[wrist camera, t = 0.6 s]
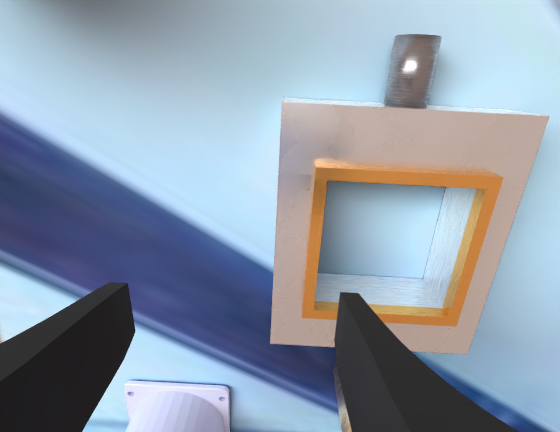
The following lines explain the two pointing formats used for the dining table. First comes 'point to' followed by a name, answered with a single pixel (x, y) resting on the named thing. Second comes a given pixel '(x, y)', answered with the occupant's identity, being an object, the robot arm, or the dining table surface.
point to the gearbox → (408, 171)
